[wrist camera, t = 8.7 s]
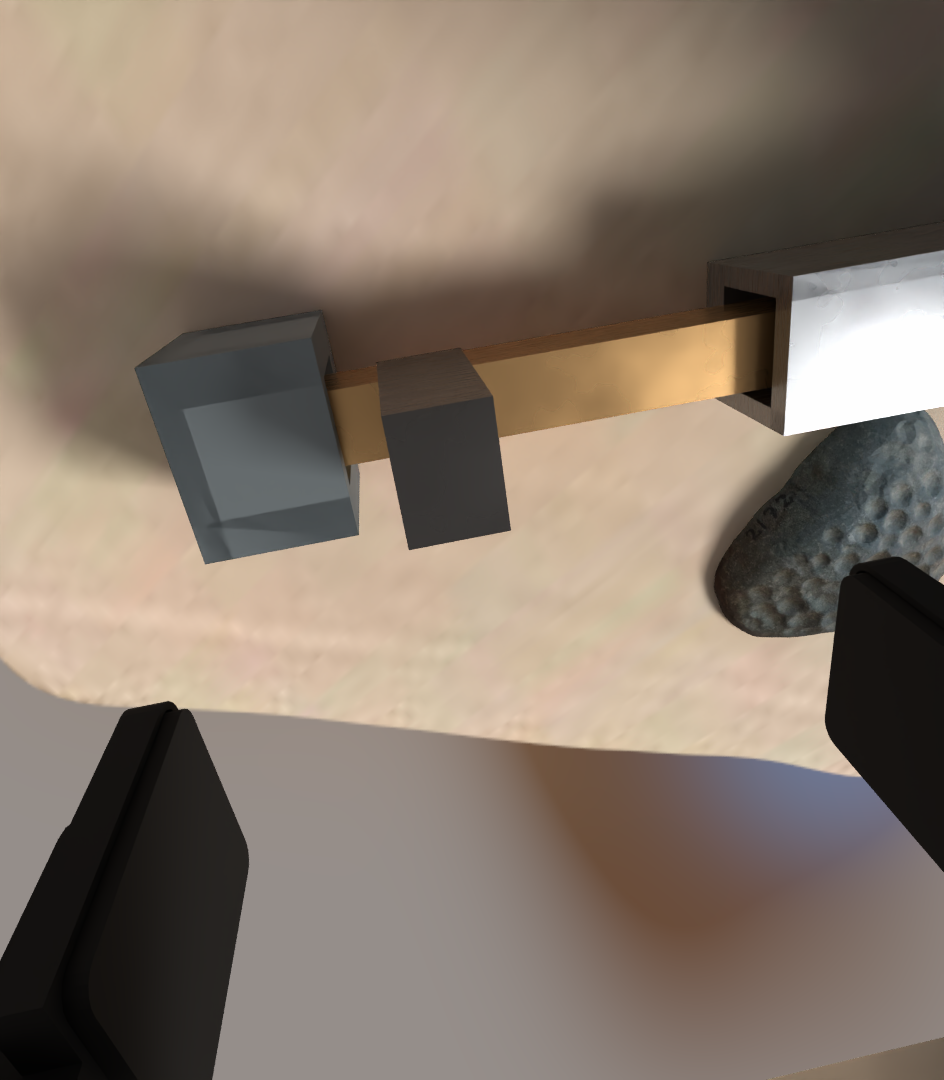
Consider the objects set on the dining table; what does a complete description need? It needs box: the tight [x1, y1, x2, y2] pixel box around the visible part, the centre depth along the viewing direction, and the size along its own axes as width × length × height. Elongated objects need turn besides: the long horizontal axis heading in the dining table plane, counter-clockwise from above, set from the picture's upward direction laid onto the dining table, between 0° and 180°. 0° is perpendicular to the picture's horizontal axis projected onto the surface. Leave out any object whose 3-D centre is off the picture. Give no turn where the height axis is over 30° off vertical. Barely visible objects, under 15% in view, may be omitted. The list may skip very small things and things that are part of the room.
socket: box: [135, 310, 360, 564], centre depth 26 cm, size 7×6×6 cm
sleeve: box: [707, 222, 944, 436], centre depth 28 cm, size 6×12×6 cm, turn 98°
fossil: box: [714, 410, 944, 637], centre depth 34 cm, size 10×13×4 cm
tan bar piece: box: [324, 297, 776, 550], centre depth 24 cm, size 4×22×9 cm, turn 98°
